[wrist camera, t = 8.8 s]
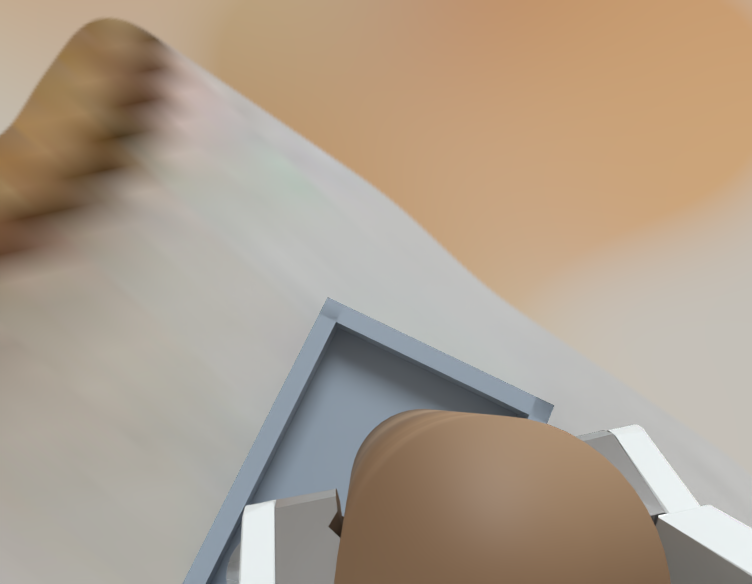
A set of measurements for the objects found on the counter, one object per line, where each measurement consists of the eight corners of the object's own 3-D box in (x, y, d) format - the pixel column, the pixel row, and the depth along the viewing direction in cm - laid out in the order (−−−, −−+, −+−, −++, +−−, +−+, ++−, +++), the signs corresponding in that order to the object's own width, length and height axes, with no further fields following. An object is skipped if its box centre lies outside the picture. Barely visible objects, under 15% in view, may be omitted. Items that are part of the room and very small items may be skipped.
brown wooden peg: (461, 589, 13) (600, 855, 6) (325, 520, 14) (273, 680, 6) (519, 448, 14) (718, 505, 6) (389, 384, 14) (421, 361, 6)
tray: (412, 703, 24) (419, 739, 21) (189, 587, 24) (169, 609, 22) (535, 405, 26) (554, 405, 24) (330, 307, 27) (327, 297, 24)
